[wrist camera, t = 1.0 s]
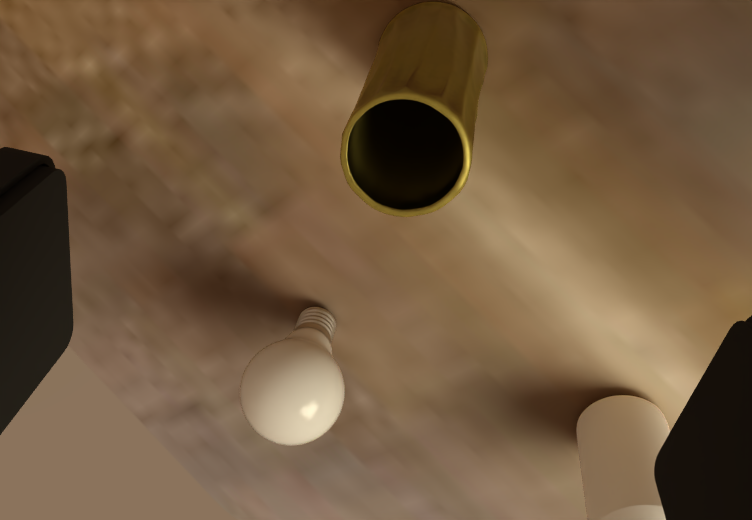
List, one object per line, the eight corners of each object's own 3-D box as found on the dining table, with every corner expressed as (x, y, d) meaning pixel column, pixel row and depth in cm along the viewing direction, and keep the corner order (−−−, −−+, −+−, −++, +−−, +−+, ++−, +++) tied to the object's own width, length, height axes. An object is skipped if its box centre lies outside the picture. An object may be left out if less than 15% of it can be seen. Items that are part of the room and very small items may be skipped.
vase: (390, 118, 42) (347, 236, 30) (367, 12, 39) (309, 95, 27) (494, 101, 41) (494, 217, 28) (478, -10, 38) (470, 66, 26)
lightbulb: (327, 367, 52) (290, 483, 43) (258, 316, 51) (204, 425, 42) (382, 318, 49) (356, 431, 40) (311, 262, 48) (266, 367, 39)
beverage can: (683, 424, 51) (731, 574, 40) (611, 464, 53) (639, 613, 43) (627, 372, 49) (662, 515, 39) (556, 416, 52) (571, 560, 42)
